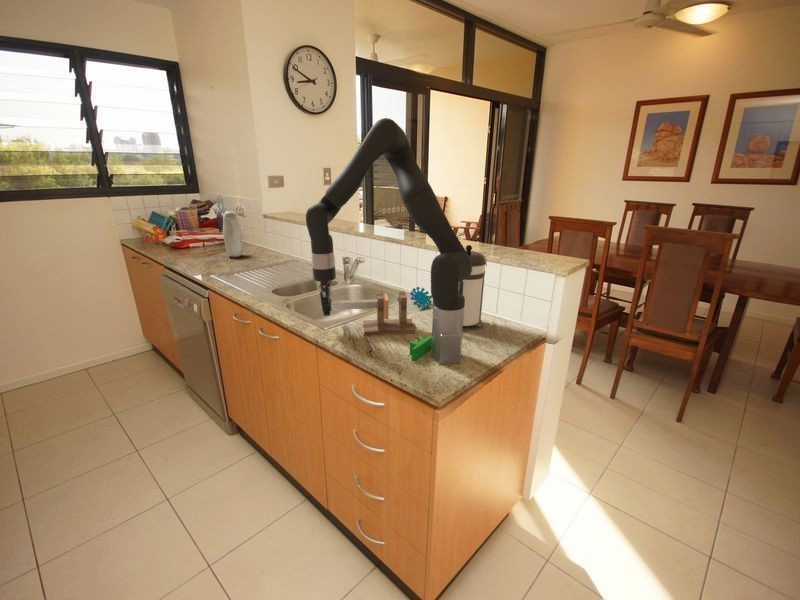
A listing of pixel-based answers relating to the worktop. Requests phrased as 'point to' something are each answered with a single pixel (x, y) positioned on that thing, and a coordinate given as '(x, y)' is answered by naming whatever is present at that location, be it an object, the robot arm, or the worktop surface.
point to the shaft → (353, 304)
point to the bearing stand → (390, 326)
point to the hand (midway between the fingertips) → (327, 312)
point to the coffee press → (473, 289)
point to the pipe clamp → (420, 347)
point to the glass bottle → (232, 234)
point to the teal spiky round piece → (421, 297)
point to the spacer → (385, 306)
